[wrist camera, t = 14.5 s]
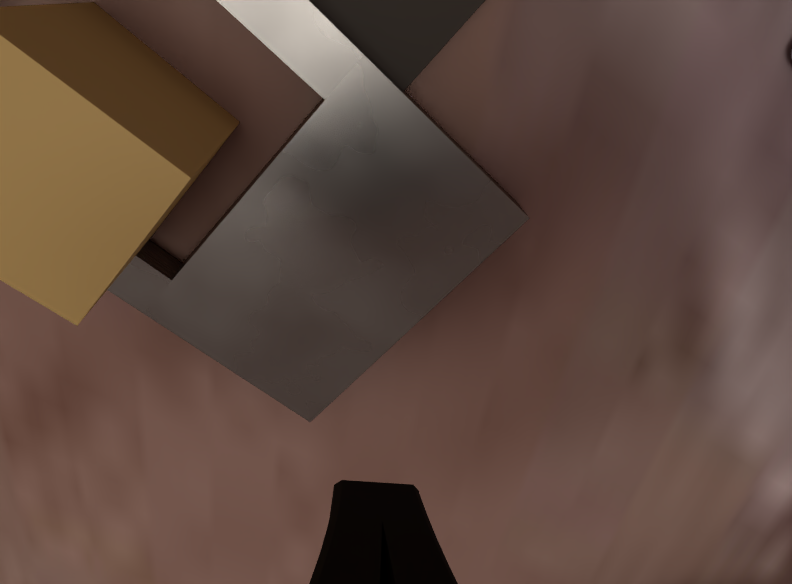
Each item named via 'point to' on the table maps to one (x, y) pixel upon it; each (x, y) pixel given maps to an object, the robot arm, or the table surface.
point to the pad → (400, 30)
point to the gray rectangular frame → (328, 228)
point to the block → (90, 150)
